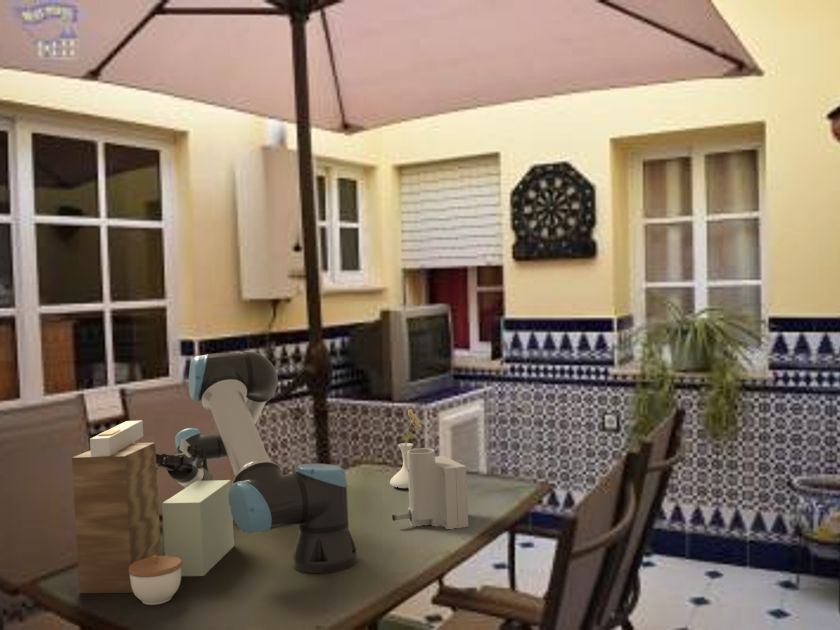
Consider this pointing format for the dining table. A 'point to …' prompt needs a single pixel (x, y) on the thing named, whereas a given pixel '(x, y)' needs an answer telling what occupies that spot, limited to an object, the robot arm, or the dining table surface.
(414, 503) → the white tube and box
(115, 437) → the white bar
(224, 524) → the upright ivory cuboid
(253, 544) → the dining table surface
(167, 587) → the lidded jar
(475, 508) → the dining table surface
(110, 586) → the walnut stand
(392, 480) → the flower in vase
